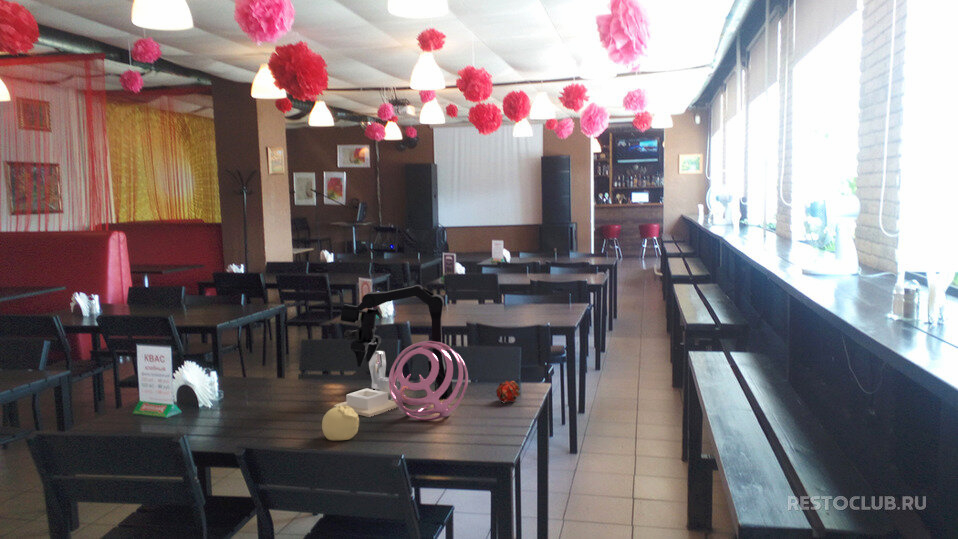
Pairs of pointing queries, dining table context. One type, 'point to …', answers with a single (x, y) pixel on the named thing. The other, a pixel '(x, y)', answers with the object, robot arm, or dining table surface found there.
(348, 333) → the robot arm
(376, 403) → the cream square frame
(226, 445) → the dining table surface
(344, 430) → the sculpture
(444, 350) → the pink openwork sphere
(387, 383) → the grey wooden block
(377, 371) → the beer glass
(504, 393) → the dragon fruit
